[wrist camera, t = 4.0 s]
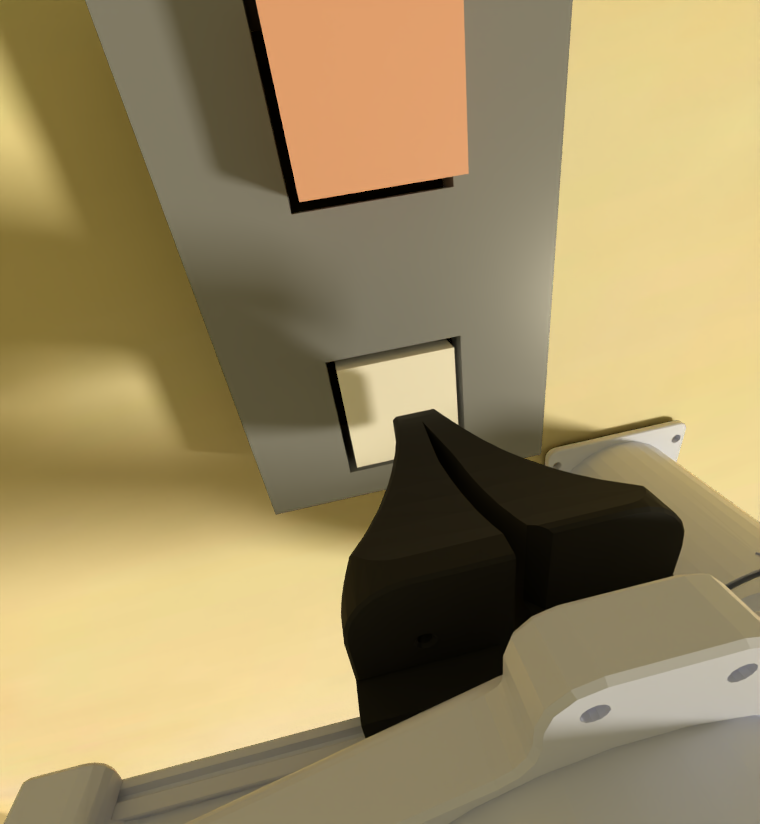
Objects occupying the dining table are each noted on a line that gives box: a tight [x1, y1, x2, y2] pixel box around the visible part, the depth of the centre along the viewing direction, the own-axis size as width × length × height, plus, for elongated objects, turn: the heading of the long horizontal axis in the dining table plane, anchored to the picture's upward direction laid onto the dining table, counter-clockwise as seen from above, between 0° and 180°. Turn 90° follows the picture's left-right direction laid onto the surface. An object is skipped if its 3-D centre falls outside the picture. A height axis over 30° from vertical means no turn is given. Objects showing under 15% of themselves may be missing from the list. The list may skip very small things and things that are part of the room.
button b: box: [256, 0, 469, 202], centre depth 10 cm, size 4×4×4 cm
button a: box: [335, 339, 458, 468], centre depth 16 cm, size 4×4×4 cm
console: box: [85, 0, 573, 514], centre depth 14 cm, size 16×11×4 cm
